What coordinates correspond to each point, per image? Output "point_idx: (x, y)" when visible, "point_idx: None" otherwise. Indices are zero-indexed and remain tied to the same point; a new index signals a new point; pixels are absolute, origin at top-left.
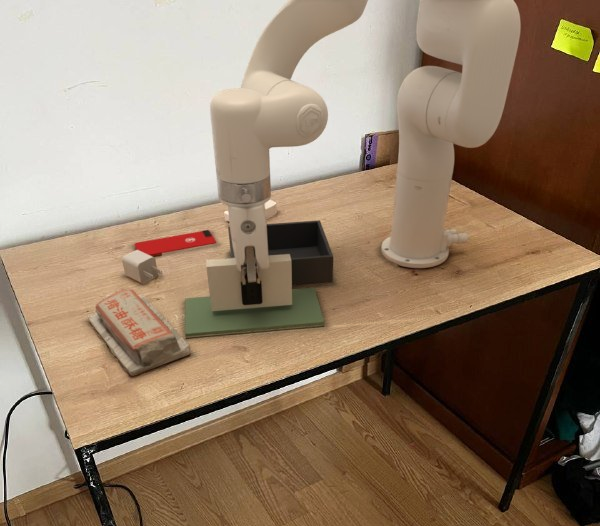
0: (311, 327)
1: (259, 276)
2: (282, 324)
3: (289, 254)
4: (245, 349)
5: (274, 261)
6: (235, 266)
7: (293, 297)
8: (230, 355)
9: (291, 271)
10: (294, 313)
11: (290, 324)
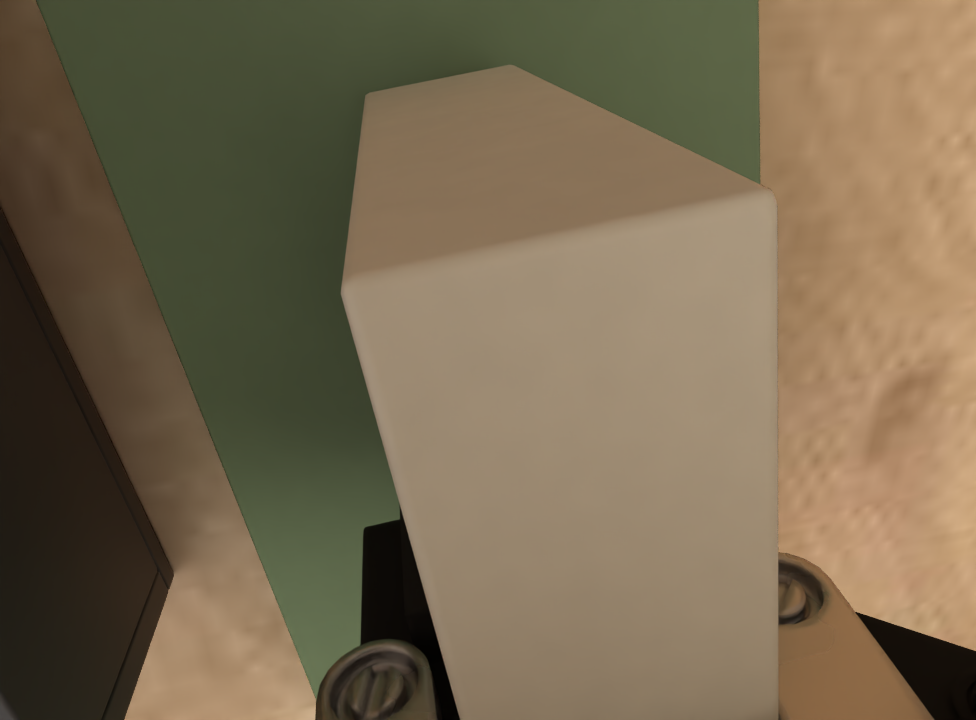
0: None
1: (875, 646)
2: (749, 143)
3: (378, 282)
4: (918, 380)
5: (771, 594)
6: None
7: (246, 59)
8: (957, 456)
9: (647, 131)
10: (565, 29)
11: (757, 62)
